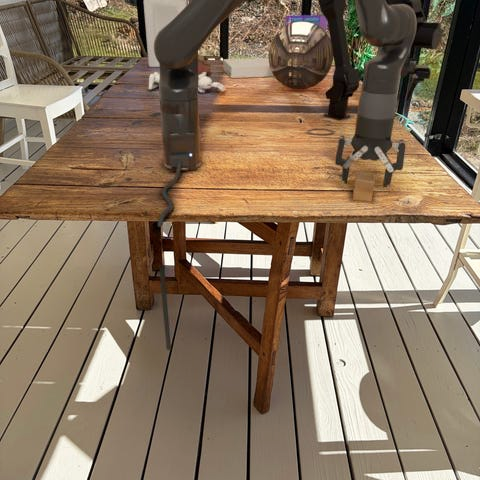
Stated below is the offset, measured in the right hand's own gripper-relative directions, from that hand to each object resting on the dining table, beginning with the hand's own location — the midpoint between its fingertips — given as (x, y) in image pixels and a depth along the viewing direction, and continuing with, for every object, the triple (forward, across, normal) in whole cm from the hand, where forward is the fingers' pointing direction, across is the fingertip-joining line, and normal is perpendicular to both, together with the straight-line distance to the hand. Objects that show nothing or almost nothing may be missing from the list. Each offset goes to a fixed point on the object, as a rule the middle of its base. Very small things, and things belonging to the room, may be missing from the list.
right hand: (391, 99), depth 145 cm
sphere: (+9, -32, +43) cm, 55 cm away
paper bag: (+9, -98, +76) cm, 124 cm away
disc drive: (+9, -56, +66) cm, 88 cm away
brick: (+9, -7, -52) cm, 53 cm away
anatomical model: (+9, -78, +57) cm, 97 cm away
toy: (+9, -74, +28) cm, 79 cm away
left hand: (+6, -7, -51) cm, 52 cm away
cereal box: (+9, -34, +72) cm, 80 cm away
